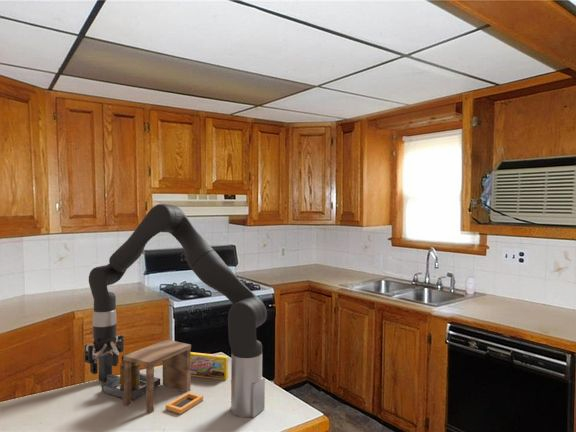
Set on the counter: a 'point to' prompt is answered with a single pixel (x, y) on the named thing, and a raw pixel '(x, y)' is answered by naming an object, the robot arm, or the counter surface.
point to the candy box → (209, 366)
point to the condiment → (134, 374)
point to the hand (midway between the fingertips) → (104, 369)
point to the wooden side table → (173, 368)
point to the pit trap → (184, 403)
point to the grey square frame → (117, 378)
